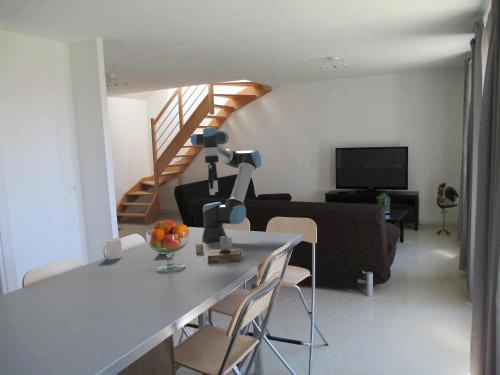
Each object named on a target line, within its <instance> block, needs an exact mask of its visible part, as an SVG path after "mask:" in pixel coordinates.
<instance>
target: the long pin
mask: <svg viewBox="0 0 500 375" xmlns="http://www.w3.org/2000/svg"><path fill="white" fill-rule="evenodd" d="M219 246H220V249H221V254H224V253H229V248H228V235H226V236H220V245H219Z"/></svg>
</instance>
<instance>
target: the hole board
mask: <svg viewBox="0 0 500 375" xmlns="http://www.w3.org/2000/svg"><path fill="white" fill-rule="evenodd" d="M242 256H243V253H242V248H232V249H229V253H224V254H221V248H219V249H218V248H217V249H210V251H209V253H208V254H207V265H208V264H209V265H210V264H212V265H213V264H233V263H235V264H236V263H237V264H238V263H241V261H242Z"/></svg>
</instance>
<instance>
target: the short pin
mask: <svg viewBox="0 0 500 375" xmlns="http://www.w3.org/2000/svg"><path fill="white" fill-rule="evenodd" d="M204 253H205V252H204V243H202V242H198V243H195V254H197V255H198V254H199V255H201V254H204Z"/></svg>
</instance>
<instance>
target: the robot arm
mask: <svg viewBox="0 0 500 375" xmlns="http://www.w3.org/2000/svg"><path fill="white" fill-rule="evenodd" d="M228 141H229V133H228V132H226V131H224V130H220V131H218V130H217V128H216V127H213V126H211V127H204V128H203V129H202V132H195V133H192V134H191V136H190V142H191V145H192V146H194V147H201V148H203V152H204V163H206V164H208V165H207V168H208V173H207V177H208V179H207V184H208V188H209V195H210V196H215V195H216V193H218V192H219V186H218V185H219V184H218V181H219V180H220V179H219V177H218V172H217V163H219V160H220V161H221V163H223V164H225V165H227V166H229V167H230V168H234V169H239V170H238V172H237V175H236V176H237V177H236V178H235V181H234V185H233V188H232V192H231V195H230V197H229V198H228V199H226V202H225V204H223V203H222V202H221V201H217V202H216V201H215V202H211V203H206V204H204V205H203V206H202V214H203V215H202V216H203V233H202V235H201V236H202V237H201V238H202V239H201V241H202V242H204V243H219V242H220V236H227V234H226V231H225V228H224V225H240V224H242V223H243V222H244V221H245V219H246V216H247V208H246V206H245V203H244V202H245V201H244V200H245V197H246V195H247V191H248V187H249V184H250V181H251V178H252V175H253V174H254V173H255V172H256V170H257V169H259V168H261V167H262V158H261V157H262V156H261V153H260V152H259V151H258V150H257V149H256V150H255V149H251V150H250V149H249V150H231V149H230V148H229V149H228V148H226V147H224V146H223V145H225V144H227V143H228ZM223 224H224V225H223Z"/></svg>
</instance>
